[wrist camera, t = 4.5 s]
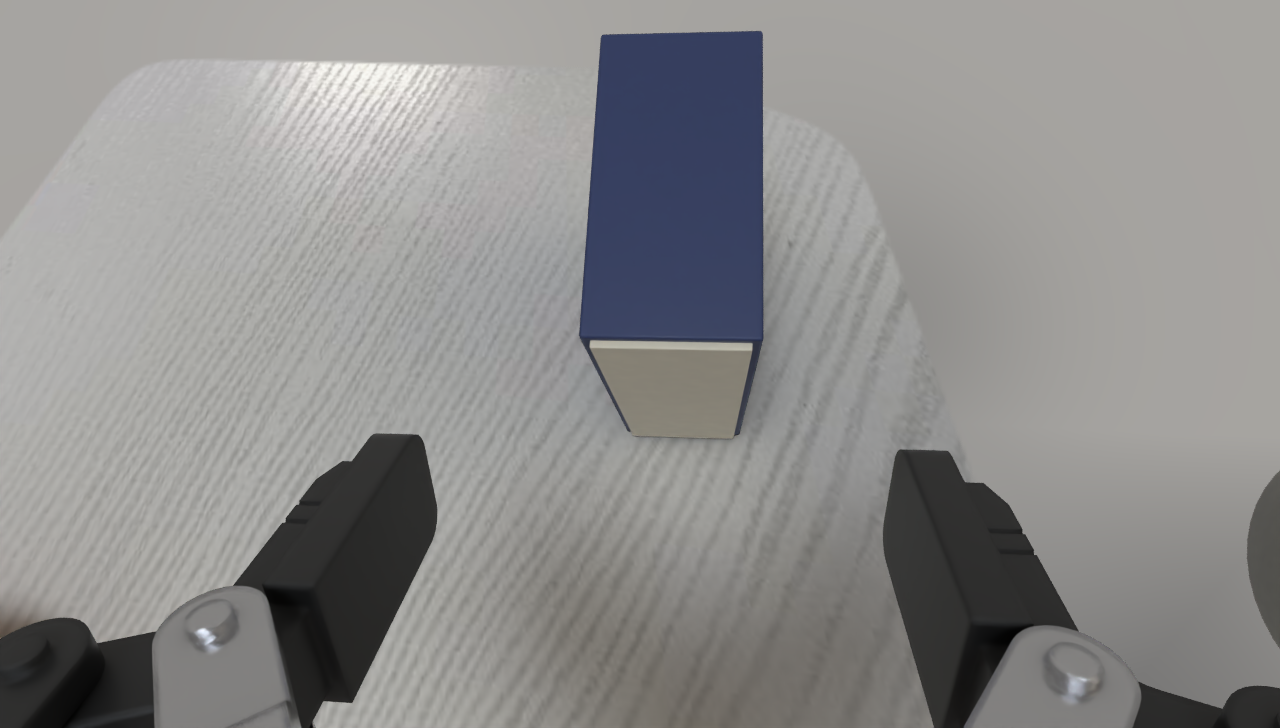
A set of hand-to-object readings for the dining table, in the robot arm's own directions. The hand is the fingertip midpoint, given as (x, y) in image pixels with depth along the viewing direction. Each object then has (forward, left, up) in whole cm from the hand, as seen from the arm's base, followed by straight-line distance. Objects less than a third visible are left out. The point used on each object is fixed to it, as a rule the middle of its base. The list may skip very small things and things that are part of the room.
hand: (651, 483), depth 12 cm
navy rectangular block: (0, -9, -16) cm, 18 cm away
